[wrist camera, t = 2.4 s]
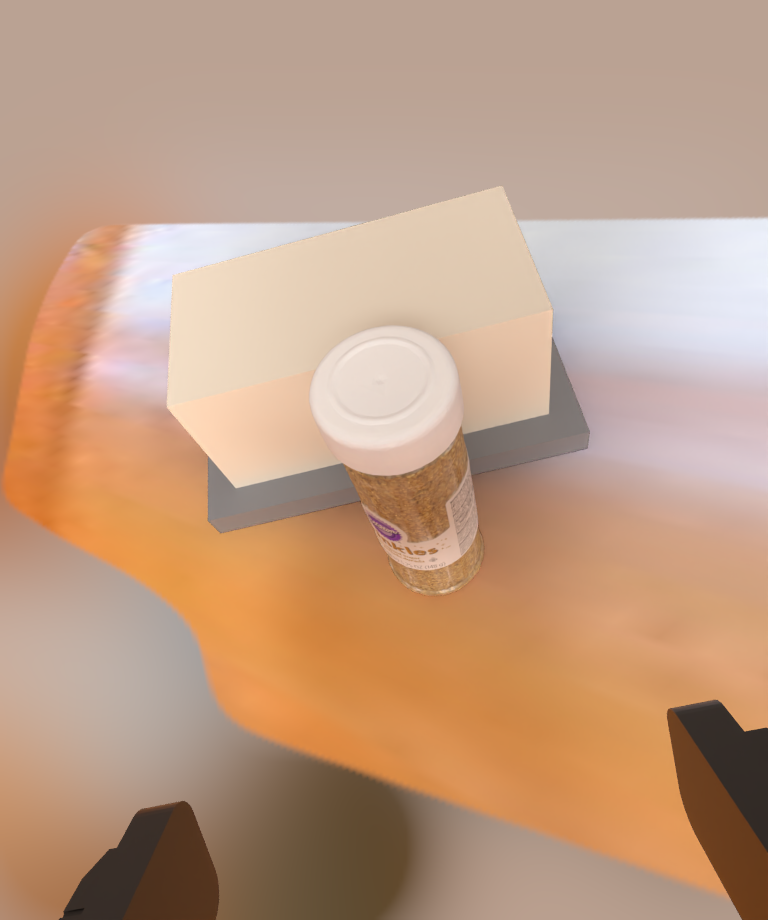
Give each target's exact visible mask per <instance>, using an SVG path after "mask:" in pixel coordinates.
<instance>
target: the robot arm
mask: <svg viewBox="0 0 768 920" xmlns="http://www.w3.org/2000/svg"><path fill="white" fill-rule="evenodd" d="M667 719H668V726H669V731H670V737H671V743H672V749H673V755H674V761H675V766H676V772H677V778H678V784H679V789H680V794H681V798H682V801H683V804H684V808H685V811H686V813H687V816H688V819H689V821H690V824H691V826H692V828H693V830H694V832H695V834H696V836H697V838H698V840H699V842H700V844H701V846H702V847H703V849H704V851H705V853H706V855H707V857H708V858H709V860H710V862H711V864H712V866H713V867H714V869H715V871H716V873H717V875H718V877H719V878H720V880H721V882H722V884H723V886H724V888H725V889H726V891H727V893H728V895H729V897H730V898H731V900H732V902H733V904H734V906H735V908H736V909H737V911H738V913H739V915H740V917H741V918H742V920H768V728H762V729H757V730H751V731H746V732H744V731H743V729H742V728H741V727H740V726H739V724H738V723H737V722H736V721H735V719H734V718H733V717H732V716H731V714H730V713H729V712H728V711H727V709H726V708H725V707H724V706H723V704H722V703H721V702H719V701H718V700H712V701H706V702H701V703H696V704H691V705H686V706H681V707H675V708H670V709H668V711H667ZM218 903H219V885H218V878H217V874H216V871H215V868H214V865H213V862H212V860H211V857H210V855H209V852H208V849H207V847H206V844H205V841H204V839H203V836H202V834H201V831H200V828H199V826H198V823H197V821H196V818H195V815H194V812H193V810H192V808H191V806H190V805H189V804H188V803H187V802H185V801H181V802H175V803H171V804H165V805H160V806H155V807H150V808H144V809H141V810H140V811H138V812H137V813H136V814H135V816H134V817H133V819H132V821H131V823H130V825H129V826H128V828H127V830H126V832H125V834H124V836H123V838H122V840H121V841H120V843H119V845H118V847H117V848H114V849H109V851H107V852H106V854H105V855H104V856H103V857H102V858H101V859H100V860H99V861H98V862H97V863H96V864H95V866H94V867H93V868H92V869H91V870H90V871H89V872H88V873H87V874H86V875H85V877H84V878H83V879H82V880H81V882H80V884H79V885H78V887H77V889H76V891H75V892H74V894H73V896H72V898H71V899H70V901H69V903H68V905H67V907H66V908H65V910H64V916H63V918H60V919H59V920H216V916H217V911H218Z"/></svg>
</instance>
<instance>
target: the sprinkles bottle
mask: <svg viewBox="0 0 768 920" xmlns="http://www.w3.org/2000/svg"><path fill="white" fill-rule="evenodd" d="M309 403H310V409H311V412H312V415H313V418H314V420H315V422H316V425H317V427H318V429H319V431H320V433H321V435H322V437H323V439H324V441H325V443H326V445H327V447H328V448H329V450H330V451H331V453H332V454H333V455H334V456H335V457H336V458H337V459H338V460H339V461H341V462H342V463H343V465H344V467H345V468H346V471H347V472H348V474H349V476H350V479H351V481H352V483H353V484H354V486H355V488H356V491H357V492H358V495H359V497H360V500H361V504H362V507H363V509H364V511H365V513H366V515H367V517H368V519H369V521H370V523H371V525H372V527H373V529H374V531H375V533H376V535H377V537H378V540H379V542H380V544H381V545H382V547H383V549H384V550H385V551H386V553H387V555H388V560H389V564H390V566H391V568H392V571H393V573H394V574H395V575H396V577H397V578H398V579H399V581H400V582H401V583H402V584H403V585H404V586H405V587H407V588H409V589H410V590H411V591H413V592H416V593H420V594H422V595H427V596H432V595H433V596H439V595H447V594H449V593H452V592H455V591H457V590H460V589H461V588H462V587H463V586H465V585H466V584H468V583H469V582H470V581H471V579H473V578H474V576H475V575H476V574H477V572H478V571H479V570H480V566H481V563H482V560H483V556H484V543H483V538H482V535H481V533H480V531H479V528H478V514H477V507H476V500H475V494H474V488H473V483H472V477H471V471H470V464H469V457H468V453H467V448H466V445H465V442H464V436H463V432H462V426H461V424H462V420H463V414H464V404H463V396H462V389H461V384H460V379H459V374H458V370H457V366H456V363H455V361H454V358H453V357H452V355H451V353H450V352H449V350H448V349H447V348H446V347H445V345H444V344H443V343H441V342H440V341H439V340H438V339H436V338H435V337H434V336H432V335H430V334H429V333H427V332H425V331H422V330H419V329H416V328H412V327H407V326H397V325H386V326H379V327H374V328H370V329H366V330H363V331H360V332H358V333H356V334H354V335H351V336H350V337H348V338H346V339H344V340H343V341H341V342H340V343H339V344H337V345H336V346H335V347H334V348H332V349H331V350H330V351H329V352H328V353H327V354H326V356H325V357H324V358H323V359H322V361H321V362H320V364H319V365H318V367H317V369H316V371H315V372H314V375H313V378H312V381H311V385H310V391H309Z"/></svg>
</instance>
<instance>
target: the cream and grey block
mask: <svg viewBox="0 0 768 920" xmlns="http://www.w3.org/2000/svg"><path fill="white" fill-rule="evenodd" d="M552 323H553V308H552V306H551V303H550V301H549V298H548V296H547V294H546V291H545V289H544V286H543V284H542V281H541V279H540V277H539V274H538V272H537V269H536V267H535V264H534V262H533V259H532V257H531V255H530V252H529V250H528V247H527V245H526V242H525V240H524V237H523V235H522V233H521V230H520V228H519V225H518V223H517V220H516V218H515V216H514V214H513V211H512V208H511V206H510V203H509V201H508V198H507V196H506V194H505V191H504V189H503V186H498V187H495V188H491V189H487V190H483V191H480V192H476V193H473V194H469V195H465V196H461V197H458V198H454V199H451V200H447V201H443V202H440V203H436V204H433V205H428V206H425V207H421V208H417V209H414V210H410V211H406V212H403V213H399V214H395V215H392V216H389V217H384V218H381V219H377V220H374V221H370V222H366V223H362V224H359V225H355V226H351V227H348V228H344V229H340V230H337V231H333V232H329V233H326V234H322V235H319V236H315V237H311V238H308V239H304V240H300V241H297V242H293V243H289V244H286V245H282V246H278V247H275V248H271V249H267V250H264V251H260V252H256V253H253V254H249V255H245V256H242V257H238V258H234V259H231V260H227V261H223V262H220V263H216V264H212V265H209V266H205V267H201V268H198V269H194V270H190V271H187V272H183V273H179V274H176V275H173V279H172V301H171V323H170V345H169V367H168V389H167V408H168V409H169V410H170V412H171V413H172V414H173V415H174V416H175V417H176V419H177V420H178V421H179V422H180V423H181V425H182V426H183V427H184V428H185V429H186V430H187V432H188V433H189V434H190V435H191V436H192V437H193V439H194V440H195V441H196V442H197V443H198V444H199V446H200V447H201V448H202V449H203V450H204V451H205V453H206V454H207V455H208V522H209V523H211V524H212V525H213V526H214V527H215V528H216V529H217V530H218V531H219V532H220V533H224V532H228V531H232V530H237V529H241V528H245V527H250V526H254V525H258V524H263V523H267V522H271V521H276V520H280V519H284V518H289V517H293V516H297V515H302V514H306V513H310V512H315V511H319V510H323V509H327V508H332V507H336V506H340V505H345V504H349V503H353V502H358V501H361V500H360V497H359V495H358V492H357V491H356V488H355V486H354V484H353V483H352V481H351V479H350V476H349V474H348V472H347V471H346V468H345V467H344V465H343V463H342V462H341V461H339V460H338V459H337V458H336V457H335V456H334V455H333V454H332V453H331V451H330V450H329V448H328V447H327V445H326V443H325V441H324V439H323V437H322V435H321V433H320V431H319V429H318V427H317V425H316V422H315V420H314V418H313V415H312V412H311V409H310V403H309V391H310V385H311V381H312V378H313V375H314V372H315V371H316V369H317V367H318V365H319V364H320V362H321V361H322V359H323V358H324V357H325V356H326V354H327V353H328V352H329V351H330V350H331V349H332V348H334V347H335V346H336V345H337V344H339V343H340V342H341V341H343V340H344V339H346V338H348V337H350V336H351V335H354V334H356V333H358V332H360V331H363V330H366V329H370V328H374V327H379V326H386V325H397V326H407V327H412V328H416V329H419V330H422V331H425V332H427V333H429V334H430V335H432V336H434V337H435V338H436V339H438V340H439V341H440V342H441V343H443V344H444V345H445V347H446V348H447V349H448V350H449V352H450V353H451V355H452V357H453V358H454V361H455V363H456V366H457V370H458V374H459V379H460V384H461V389H462V396H463V404H464V414H463V420H462V424H461V426H462V432H463V436H464V442H465V445H466V448H467V453H468V457H469V464H470V471H471V475H474V474H479V473H483V472H487V471H492V470H496V469H500V468H505V467H509V466H513V465H518V464H522V463H526V462H531V461H535V460H539V459H544V458H548V457H552V456H557V455H561V454H565V453H569V452H574V451H578V450H582V449H587V448H588V441H589V434H590V431H589V429H588V426H587V424H586V421H585V418H584V416H583V413H582V411H581V408H580V406H579V403H578V401H577V398H576V396H575V393H574V391H573V388H572V386H571V383H570V381H569V378H568V376H567V373H566V371H565V368H564V365H563V363H562V360H561V358H560V355H559V353H558V350H557V348H556V345H555V343H554V340H553V338H552Z"/></svg>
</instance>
